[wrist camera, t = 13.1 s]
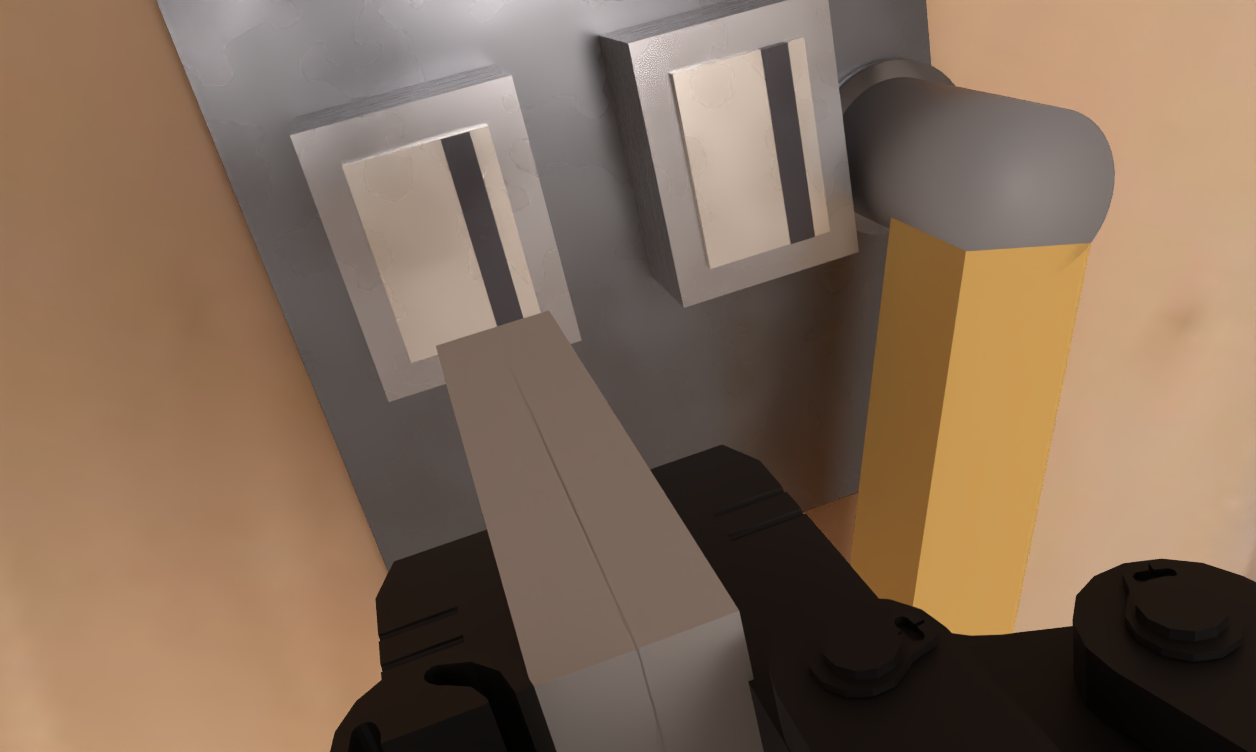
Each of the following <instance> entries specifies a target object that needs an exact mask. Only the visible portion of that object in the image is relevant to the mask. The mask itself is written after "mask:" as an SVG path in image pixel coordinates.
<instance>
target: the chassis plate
mask: <svg viewBox="0 0 1256 752" xmlns="http://www.w3.org/2000/svg"><path fill="white" fill-rule="evenodd" d="M156 1H157V3H158V5H159V8H160V10H161V13H162V15H163V18H164V20H165V23H166V25H167V28H168V30H169V33H170V35H171V38H172V40H173V42H174V45H175V47H176V50H177V52H178V55H179V57H180V60H181V62H182V65H183V67H184V70H185V72H186V74H187V77H188V79H189V82H190V84H191V87H192V89H193V92H194V94H195V97H196V99H197V102H198V104H199V107H200V109H201V111H202V114H203V116H204V119H205V121H206V124H207V126H208V129H209V131H210V134H211V136H212V139H213V141H214V144H215V146H216V148H217V151H218V153H219V156H220V158H221V161H222V163H223V166H224V168H225V171H226V173H227V176H228V178H229V181H230V183H231V185H232V188H233V190H234V193H235V195H236V198H237V200H238V203H239V205H240V208H241V210H242V213H243V215H244V218H245V220H246V222H247V225H248V227H249V230H250V232H251V235H252V237H253V240H254V242H255V245H256V247H257V250H258V252H259V254H260V257H261V259H262V262H263V264H264V267H265V269H266V272H267V274H268V277H269V279H270V282H271V284H272V287H273V289H274V291H275V294H276V296H277V299H278V301H279V304H280V306H281V309H282V311H283V314H284V316H285V319H286V321H287V324H288V326H289V328H290V331H291V333H292V336H293V338H294V341H295V343H296V346H297V348H298V351H299V353H300V356H301V358H302V361H303V363H304V365H305V368H306V370H307V373H308V375H309V378H310V380H311V383H312V385H313V388H314V390H315V393H316V395H317V398H318V400H319V402H320V405H321V407H322V410H323V412H324V415H325V417H326V420H327V422H328V425H329V427H330V430H331V432H332V434H333V437H334V439H335V442H336V444H337V447H338V449H339V452H340V454H341V457H342V459H343V462H344V464H345V467H346V469H347V471H348V474H349V476H350V479H351V481H352V484H353V486H354V489H355V491H356V494H357V496H358V499H359V501H360V504H361V506H362V508H363V511H364V513H365V516H366V518H367V521H368V523H369V526H370V528H371V531H372V533H373V536H374V538H375V541H376V543H377V545H378V548H379V550H380V553H381V555H382V558H383V560H384V563H385V565H386V568H387V570H388V572H389V570H390V568H391V566H392V564H393V562H394V561H397V560H400V559H403V558H405V557H408V556H411V555H414V554H417V553H420V552H423V551H426V550H429V549H431V548H434V547H437V546H440V545H443V544H446V543H449V542H452V541H455V540H457V539H460V538H463V537H466V536H469V535H472V534H475V533H478V532H481V531H484V530H486V529H487V527H486V524H485V520H484V517H483V513H482V509H481V506H480V502H479V499H478V495H477V492H476V488H475V485H474V481H473V477H472V474H471V470H470V467H469V463H468V460H467V456H466V453H465V449H464V445H463V442H462V438H461V435H460V431H459V428H458V424H457V421H456V417H455V413H454V410H453V406H452V403H451V399H450V396H449V392H448V389H447V385H446V381H445V378H444V374H443V371H442V367H441V364H440V360H439V357H438V353H437V349H436V346H437V345H440V344H443V343H446V342H449V341H453V340H456V339H459V338H462V337H465V336H469V335H472V334H475V333H478V332H481V331H485V330H488V329H491V328H494V327H497V326H501V325H504V324H507V323H510V322H513V321H517V320H520V319H523V318H526V317H529V316H532V315H536V314H539V313H542V312H545V311H548V310H549V311H550V313H551V314H552V316H553V317H554V319H555V321H556V322H557V324H558V325H559V327H560V328H561V330H562V332H563V333H564V335H565V336H566V338H567V340H568V341H569V343H570V344H571V346H572V347H573V349H574V351H575V352H576V354H577V355H578V357H579V358H580V360H581V362H582V363H583V365H584V366H585V368H586V370H587V371H588V373H589V374H590V376H591V377H592V379H593V381H594V382H595V384H596V385H597V387H598V388H599V390H600V392H601V393H602V395H603V396H604V398H605V400H606V401H607V403H608V404H609V406H610V407H611V409H612V411H613V412H614V414H615V415H616V417H617V419H618V420H619V422H620V423H621V425H622V426H623V428H624V430H625V431H626V433H627V434H628V436H629V437H630V439H631V441H632V442H633V444H634V445H635V447H636V449H637V450H638V452H639V453H640V455H641V456H642V458H643V460H644V461H645V463H646V464H647V466H648V467H649V469H652V468H655V467H658V466H661V465H664V464H667V463H670V462H673V461H676V460H678V459H681V458H684V457H687V456H690V455H693V454H696V453H699V452H702V451H705V450H707V449H710V448H713V447H716V446H719V445H725V446H727V447H729V448H732V449H734V450H736V451H739V452H741V453H743V454H746V455H748V456H751V457H753V458H755V459H758V460H760V461H761V462H762V464H763V465H764V466H765V467H766V468H767V469H768V471H769V472H770V473H771V474H772V475H773V476H774V477H775V479H776V480H777V481H778V482H779V483H780V484H781V486H782V487H783V490H784V492H787V493H788V494H789V495H790V496H791V497H792V498H793V499H794V501H795V502H796V503H797V504H798V505H799V506H800V508H801V509H802V512H804V511H807V510H810V509H813V508H815V507H818V506H821V505H824V504H826V503H829V502H832V501H835V500H837V499H840V498H843V497H846V496H849V495H851V494H854V493H857V492H859V483H860V475H861V467H862V458H863V450H864V441H865V433H866V424H867V416H868V407H869V399H870V391H871V382H872V374H873V365H874V357H875V348H876V340H877V331H878V323H879V314H880V306H881V298H882V289H883V281H884V272H885V264H886V255H887V247H888V238H889V230H890V229H888V228H886V227H884V226H882V225H880V224H878V223H875V222H873V221H871V220H869V219H867V218H865V217H863V216H861V215H859V214H857V213H855V212H854V207H853V199H852V191H851V182H850V174H849V166H848V158H847V149H846V141H845V133H844V125H843V117H842V116H843V114H844V113H845V111H846V110H847V108H848V107H849V106H850V105H851V103H852V102H853V101H854V100H855V99H856V98H857V97H858V96H859V95H860V94H861V93H863V92H864V91H865V90H867V89H868V88H870V87H871V86H873V85H875V84H877V83H879V82H882V81H884V80H887V79H891V78H897V77H912V78H917V79H922V80H927V81H932V82H937V83H942V84H946V85H951V86H955V85H954V84H953V83H952V82H951V80H950V79H949V78H948V77H947V76H946V75H944V74H943V73H942V72H941V71H939V70H938V69H936V68H935V67H933V66H931V58H930V45H929V33H928V20H927V8H926V0H156Z"/></svg>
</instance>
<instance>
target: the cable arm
mask: <svg viewBox="0 0 1256 752" xmlns="http://www.w3.org/2000/svg"><path fill="white" fill-rule="evenodd" d="M842 117H843V125H844V133H845V141H846V149H847V158H848V166H849V174H850V182H851V191H852V199H853V207H854V212H855V213H857V214H859V215H861V216H863V217H865V218H867V219H869V220H871V221H873V222H875V223H878V224H880V225H882V226H884V227H886V228H888V229H890V230H889V238H888V247H887V255H886V264H885V272H884V281H883V289H882V298H881V306H880V314H879V323H878V331H877V340H876V348H875V357H874V365H873V374H872V382H871V391H870V399H869V407H868V416H867V424H866V433H865V441H864V450H863V458H862V467H861V475H860V483H859V492H858V500H857V509H856V517H855V526H854V534H853V543H852V551H851V560H850V565H851V567H852V568H853V569H854V570H855V571H856V572H857V574H858V575H859V576H860V577H861V578H862V579H863V581H864V582H865V583H866V584H867V585H868V586H869V587H870V589H871V590H872V591H873V592H874V593H875V594H876V596H877V597H878V598H879V599H891V600H894V601H897V602H900V603H904V604H907V605H910V606H913V607H916V608H919V609H922V610H923V611H925V612H926V613H927V614H929V615H930V616H932V617H933V618H934V619H936V620H937V621H938V622H940V623H941V624H943V625H944V626H945V627H947V628H948V630H949V631H950V632H951V633H955V634H963V635H971V636H974V635H1001V634H1010V633H1013V631H1014V626H1015V621H1016V616H1017V611H1018V606H1019V601H1020V596H1021V591H1022V586H1023V581H1024V576H1025V571H1026V566H1027V561H1028V556H1029V551H1030V546H1031V541H1032V536H1033V531H1034V526H1035V521H1036V516H1037V511H1038V506H1039V501H1040V496H1041V491H1042V486H1043V481H1044V476H1045V471H1046V466H1047V461H1048V456H1049V451H1050V446H1051V441H1052V436H1053V431H1054V426H1055V421H1056V416H1057V411H1058V406H1059V401H1060V396H1061V391H1062V385H1063V380H1064V375H1065V370H1066V365H1067V360H1068V355H1069V350H1070V345H1071V340H1072V335H1073V330H1074V325H1075V320H1076V315H1077V310H1078V305H1079V300H1080V295H1081V290H1082V285H1083V280H1084V275H1085V270H1086V265H1087V260H1088V255H1089V250H1090V245H1091V242H1092V240H1093V239H1094V238H1095V236H1096V234H1097V233H1098V231H1099V229H1100V228H1101V226H1102V224H1103V222H1104V219H1105V217H1106V215H1107V212H1108V209H1109V207H1110V203H1111V199H1112V195H1113V188H1114V176H1115V171H1114V161H1113V156H1112V151H1111V149H1110V146H1109V143H1108V141H1107V139H1106V137H1105V135H1104V134H1103V132H1102V131H1101V130H1100V128H1099V127H1098V126H1097V125H1096V124H1095V123H1094V122H1093V121H1092V120H1091V119H1089V118H1088V117H1086V116H1085V115H1083V114H1081V113H1079V112H1076V111H1074V110H1070V109H1065V108H1060V107H1055V106H1050V105H1045V104H1040V103H1035V102H1031V101H1026V100H1021V99H1016V98H1011V97H1006V96H1001V95H996V94H991V93H986V92H981V91H976V90H971V89H966V88H961V87H956V86H951V85H946V84H942V83H937V82H932V81H927V80H922V79H917V78H912V77H897V78H891V79H887V80H884V81H882V82H879V83H877V84H875V85H873V86H871V87H870V88H868V89H867V90H865V91H864V92H863V93H861V94H860V95H859V96H858V97H857V98H856V99H855V100H854V101H853V102H852V103H851V105H850V106H849V107H848V108H847V110H846V111H845V113H844V114H843V116H842Z"/></svg>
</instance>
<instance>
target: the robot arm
mask: <svg viewBox="0 0 1256 752" xmlns="http://www.w3.org/2000/svg"><path fill="white" fill-rule="evenodd" d="M436 349H437V353H438V357H439V360H440V364H441V367H442V371H443V374H444V378H445V381H446V385H447V389H448V392H449V396H450V399H451V403H452V406H453V410H454V413H455V417H456V421H457V424H458V428H459V431H460V435H461V438H462V442H463V445H464V449H465V453H466V456H467V460H468V463H469V467H470V470H471V474H472V477H473V481H474V485H475V488H476V492H477V495H478V499H479V502H480V506H481V509H482V513H483V517H484V520H485V524H486V527H487V529H486V530H484V531H481V532H478V533H475V534H472V535H469V536H466V537H463V538H460V539H457V540H455V541H452V542H449V543H446V544H443V545H440V546H437V547H434V548H431V549H429V550H426V551H423V552H420V553H417V554H414V555H411V556H408V557H405V558H403V559H400V560H397V561H394V562H393V564H392V566H391V568H390V570H389V572H388V574H387V576H386V578H385V581H384V583H383V585H382V587H381V589H380V591H379V593H378V595H377V597H376V611H377V624H378V635H379V638H380V641H379V651H380V664H381V667H382V671H383V672H381V677H382V680H381V681H380V682H379V683H377V684H376V685H375V686H374V687H373V688H371V689H370V690H369V691H368V692H367V693H365V694H364V695H363V696H362V697H361V698H359V699H358V700H357V701H356V702H355V704H354V705H353V707H352V708H351V709H350V711H349V712H348V714H347V715H346V717H345V718H344V720H343V721H342V722H341V724H340V725H339V727H338V728H337V730H336V731H335V734H334V738H333V742H332V746H331V750H330V752H1256V582H1254V581H1252V580H1250V579H1248V578H1246V577H1244V576H1241V575H1238V574H1235V573H1232V572H1229V571H1226V570H1223V569H1220V568H1216V567H1213V566H1210V565H1207V564H1204V563H1198V562H1188V561H1179V560H1169V559H1155V560H1147V561H1139V562H1131V563H1124V564H1121V565H1119V566H1117V567H1114V568H1112V569H1110V570H1107V571H1105V572H1103V573H1100V574H1098V575H1096V576H1094V577H1093V578H1092V579H1091V580H1090V581H1089V582H1088V583H1087V585H1086V586H1085V587H1084V588H1083V589H1082V590H1081V591H1080V592H1079V593H1078V594H1077V595H1076V601H1075V607H1074V614H1073V626H1070V627H1061V628H1053V629H1044V630H1036V631H1027V632H1019V633H1010V634H1001V635H974V636H971V635H963V634H955V633H951V632H950V631H949V630H948V628H947V627H945V626H944V625H943V624H941V623H940V622H938V621H937V620H936V619H934V618H933V617H932V616H930V615H929V614H927V613H926V612H925V611H923V610H922V609H919V608H916V607H913V606H910V605H907V604H904V603H900V602H897V601H894V600H891V599H879V598H878V597H877V596H876V594H875V593H874V592H873V591H872V590H871V589H870V587H869V586H868V585H867V584H866V583H865V582H864V581H863V579H862V578H861V577H860V576H859V575H858V574H857V572H856V571H855V570H854V569H853V568H852V567H851V565H850V564H849V563H848V562H847V561H846V560H845V559H844V557H843V556H842V555H841V554H840V553H839V552H838V550H837V549H836V548H835V547H834V546H833V545H832V543H831V542H830V541H829V540H828V539H827V538H826V537H825V535H824V534H823V533H822V532H821V531H820V530H819V528H818V527H817V526H816V525H815V524H814V523H813V521H812V520H811V519H810V518H809V517H808V516H807V515H806V514H805V515H804V514H803V512H802V509H801V508H800V506H799V505H798V504H797V503H796V502H795V501H794V499H793V498H792V497H791V496H790V495H789V494H788V493H787V492H784V490H783V487H782V486H781V484H780V483H779V482H778V481H777V480H776V479H775V477H774V476H773V475H772V474H771V473H770V472H769V471H768V469H767V468H766V467H765V466H764V465H763V464H762V462H761V461H760V460H758V459H755V458H753V457H751V456H748V455H746V454H743V453H741V452H739V451H736V450H734V449H732V448H729V447H727V446H725V445H719V446H716V447H713V448H710V449H707V450H705V451H702V452H699V453H696V454H693V455H690V456H687V457H684V458H681V459H678V460H676V461H673V462H670V463H667V464H664V465H661V466H658V467H655V468H652V469H649V467H648V466H647V464H646V463H645V461H644V460H643V458H642V456H641V455H640V453H639V452H638V450H637V449H636V447H635V445H634V444H633V442H632V441H631V439H630V437H629V436H628V434H627V433H626V431H625V430H624V428H623V426H622V425H621V423H620V422H619V420H618V419H617V417H616V415H615V414H614V412H613V411H612V409H611V407H610V406H609V404H608V403H607V401H606V400H605V398H604V396H603V395H602V393H601V392H600V390H599V388H598V387H597V385H596V384H595V382H594V381H593V379H592V377H591V376H590V374H589V373H588V371H587V370H586V368H585V366H584V365H583V363H582V362H581V360H580V358H579V357H578V355H577V354H576V352H575V351H574V349H573V347H572V346H571V344H570V343H569V341H568V340H567V338H566V336H565V335H564V333H563V332H562V330H561V328H560V327H559V325H558V324H557V322H556V321H555V319H554V317H553V316H552V314H551V313H550V311H549V310H548V311H545V312H542V313H539V314H536V315H532V316H529V317H526V318H523V319H520V320H517V321H513V322H510V323H507V324H504V325H501V326H497V327H494V328H491V329H488V330H485V331H481V332H478V333H475V334H472V335H469V336H465V337H462V338H459V339H456V340H453V341H449V342H446V343H443V344H440V345H437V346H436Z"/></svg>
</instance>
